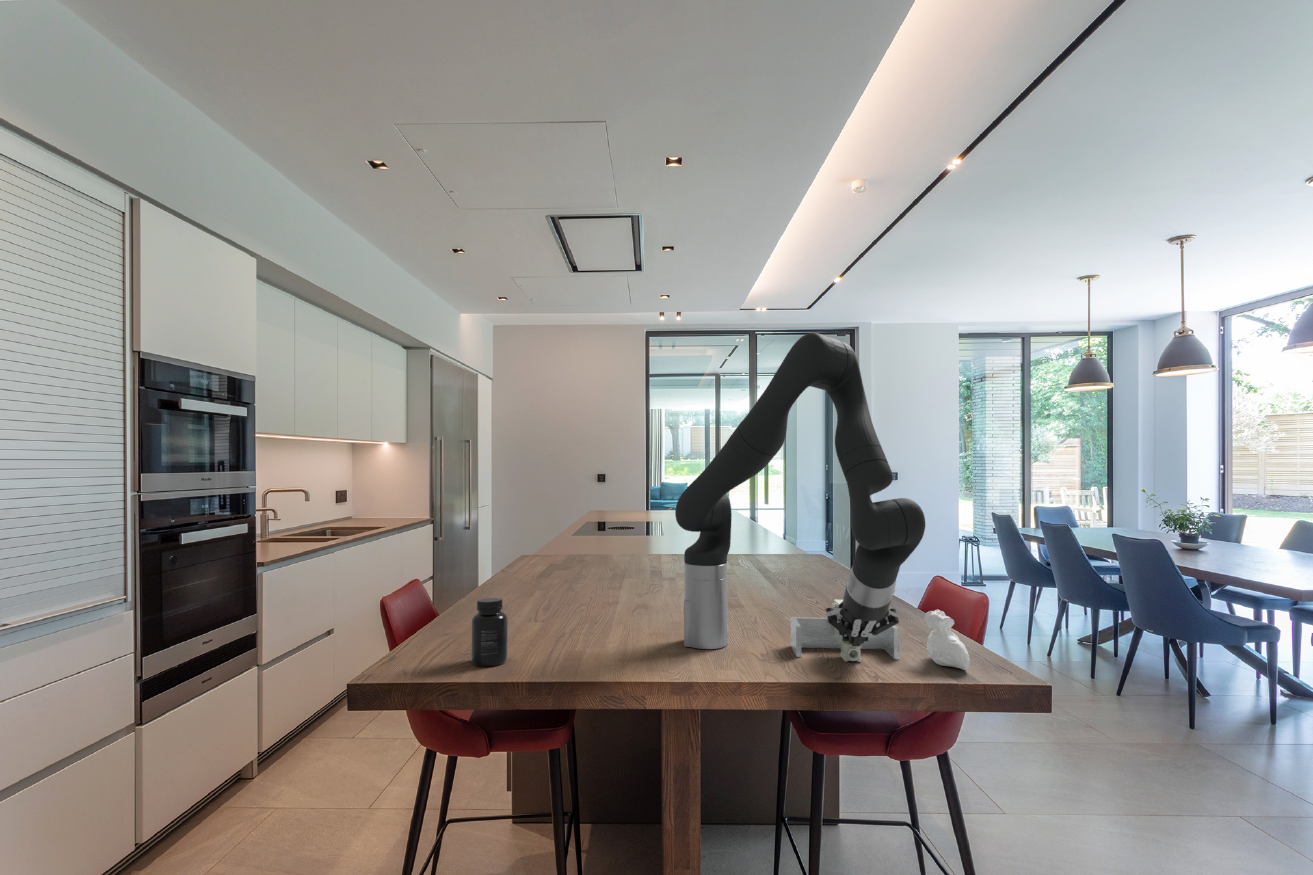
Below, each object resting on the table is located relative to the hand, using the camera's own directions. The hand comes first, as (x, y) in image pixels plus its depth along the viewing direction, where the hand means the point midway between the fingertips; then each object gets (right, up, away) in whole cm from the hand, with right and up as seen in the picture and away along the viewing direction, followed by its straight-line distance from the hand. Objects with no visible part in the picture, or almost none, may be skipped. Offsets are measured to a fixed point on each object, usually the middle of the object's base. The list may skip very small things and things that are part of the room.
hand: (854, 641), depth 115 cm
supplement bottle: (-70, -5, +4) cm, 70 cm away
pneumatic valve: (0, -5, +5) cm, 7 cm away
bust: (+18, -5, +2) cm, 19 cm away
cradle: (+1, -5, +10) cm, 11 cm away
